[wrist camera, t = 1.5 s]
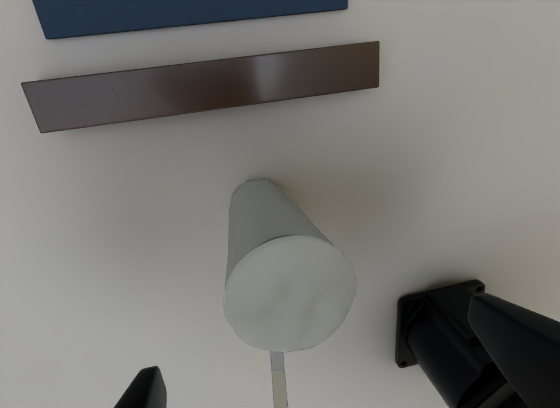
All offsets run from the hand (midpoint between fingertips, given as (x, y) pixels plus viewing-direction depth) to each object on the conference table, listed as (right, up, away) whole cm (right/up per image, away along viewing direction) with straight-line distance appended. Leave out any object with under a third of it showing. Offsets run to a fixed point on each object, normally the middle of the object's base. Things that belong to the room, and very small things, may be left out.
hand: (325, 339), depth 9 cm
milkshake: (-3, +3, +10) cm, 11 cm away
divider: (-4, +9, +6) cm, 12 cm away
